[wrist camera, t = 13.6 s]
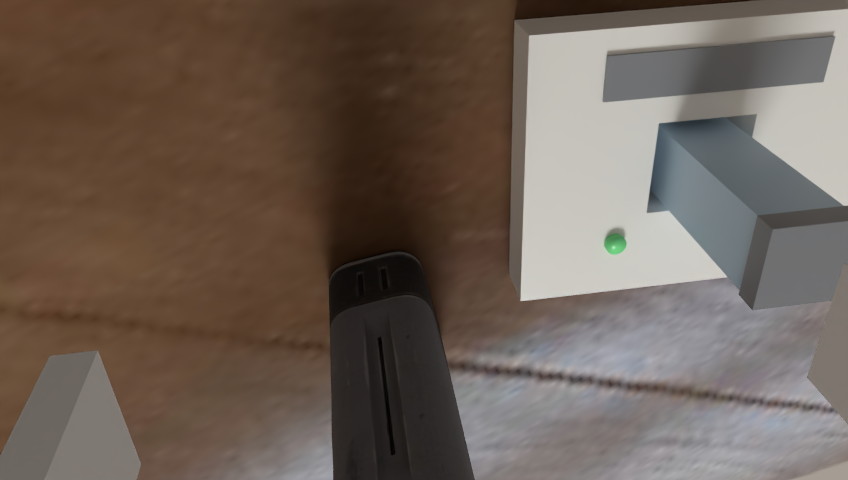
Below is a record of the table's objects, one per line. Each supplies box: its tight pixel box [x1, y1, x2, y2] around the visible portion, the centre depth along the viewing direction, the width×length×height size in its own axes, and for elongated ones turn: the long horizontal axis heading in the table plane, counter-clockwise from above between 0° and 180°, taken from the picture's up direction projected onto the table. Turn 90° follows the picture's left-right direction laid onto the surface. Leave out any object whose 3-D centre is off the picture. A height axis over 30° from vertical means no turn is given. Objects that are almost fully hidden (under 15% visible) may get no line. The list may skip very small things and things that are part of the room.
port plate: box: [509, 0, 848, 301], centre depth 40 cm, size 16×20×3 cm
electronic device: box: [329, 252, 475, 480], centre depth 37 cm, size 9×6×20 cm, turn 12°
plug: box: [650, 117, 848, 310], centre depth 36 cm, size 4×4×13 cm
